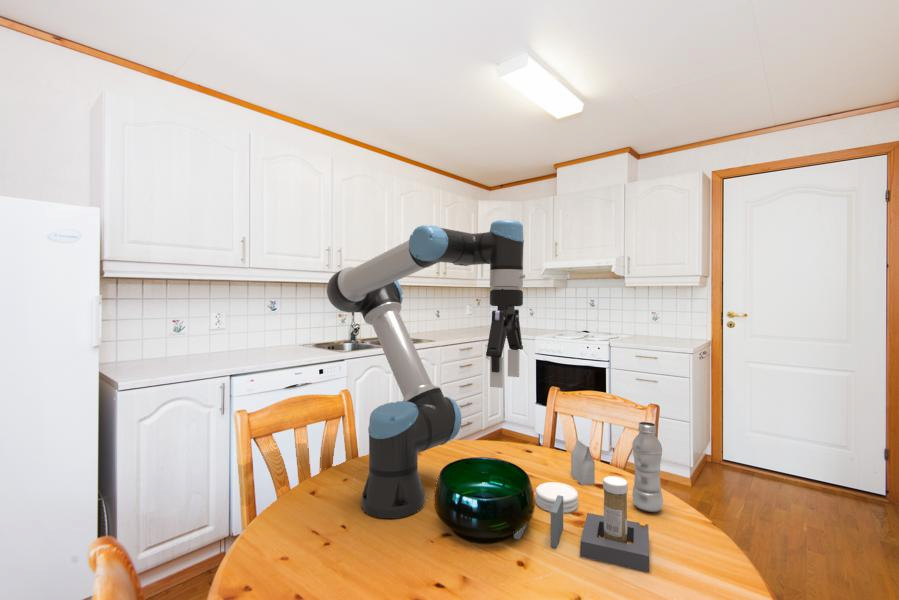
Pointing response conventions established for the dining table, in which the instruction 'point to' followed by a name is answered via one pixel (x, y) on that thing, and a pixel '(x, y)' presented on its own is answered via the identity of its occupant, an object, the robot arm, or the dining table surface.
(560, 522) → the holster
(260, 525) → the dining table surface
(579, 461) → the grey gabled carton
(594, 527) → the port block
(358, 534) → the dining table surface
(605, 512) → the sprinkles bottle
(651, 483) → the plastic bottle
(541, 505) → the white round stack
